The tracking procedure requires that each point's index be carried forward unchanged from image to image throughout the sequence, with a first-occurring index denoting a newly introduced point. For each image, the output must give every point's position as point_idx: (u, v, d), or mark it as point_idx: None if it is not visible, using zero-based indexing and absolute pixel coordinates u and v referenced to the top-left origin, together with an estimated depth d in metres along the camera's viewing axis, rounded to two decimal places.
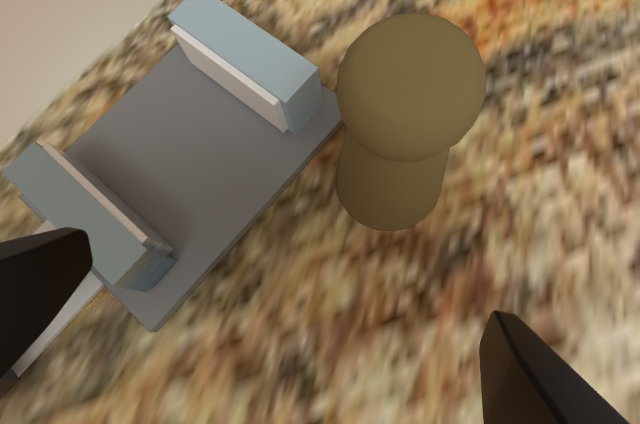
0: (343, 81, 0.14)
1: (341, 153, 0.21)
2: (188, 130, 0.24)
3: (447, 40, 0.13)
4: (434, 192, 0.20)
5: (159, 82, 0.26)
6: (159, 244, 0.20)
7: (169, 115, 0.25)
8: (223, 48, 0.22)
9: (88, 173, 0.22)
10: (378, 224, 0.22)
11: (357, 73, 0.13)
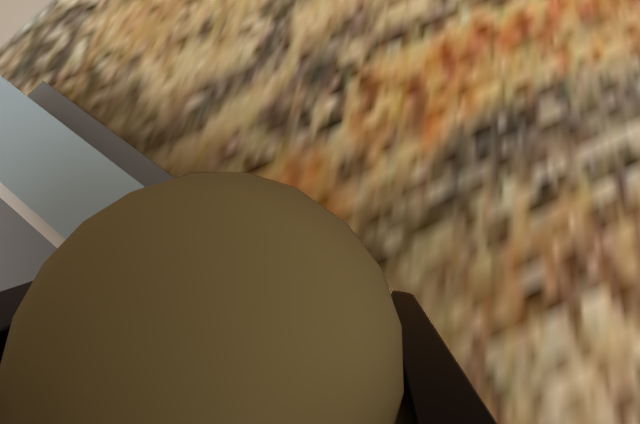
0: None
1: None
2: None
3: (270, 281, 0.04)
4: None
5: None
6: None
7: None
8: None
9: None
10: None
11: (9, 391, 0.04)
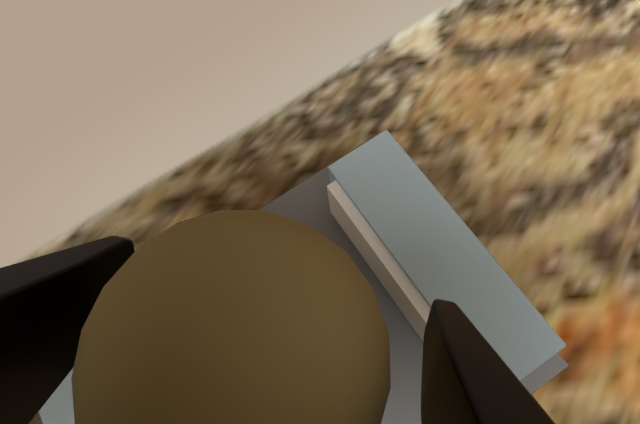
0: None
1: None
2: None
3: (284, 301, 0.06)
4: None
5: None
6: None
7: None
8: (406, 253, 0.13)
9: None
10: None
11: (84, 387, 0.06)
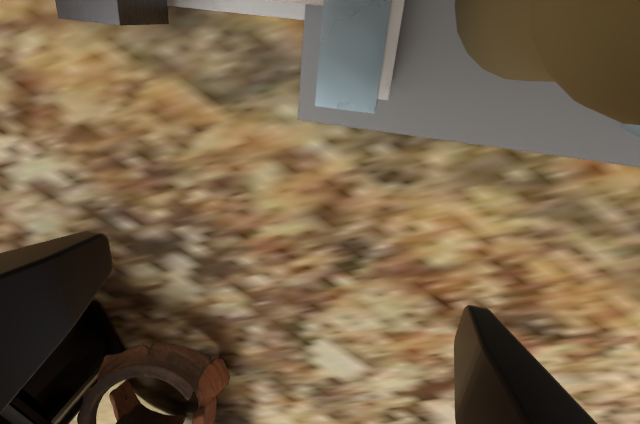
0: None
1: None
2: None
3: None
4: None
5: None
6: None
7: None
8: None
9: None
10: (473, 53, 0.15)
11: None
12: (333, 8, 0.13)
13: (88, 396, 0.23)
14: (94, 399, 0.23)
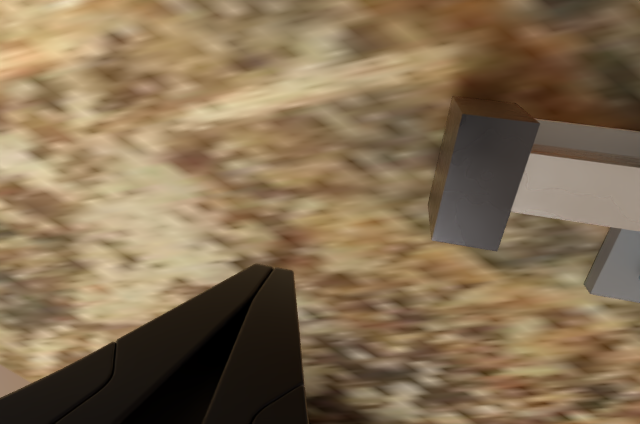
0: None
1: None
2: None
3: None
4: None
5: None
6: None
7: None
8: None
9: None
10: None
11: None
12: None
13: None
14: None
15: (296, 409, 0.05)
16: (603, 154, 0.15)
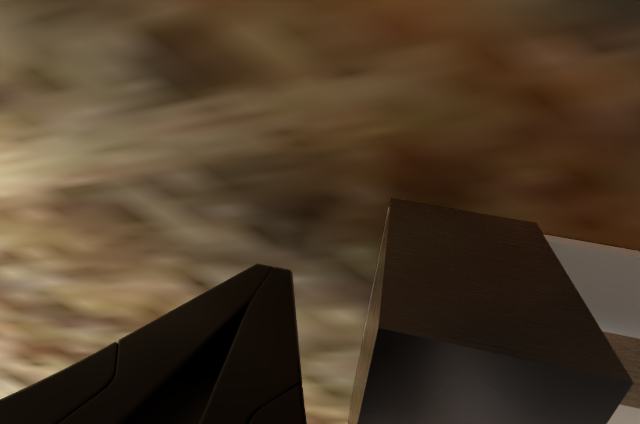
0: None
1: None
2: None
3: None
4: None
5: None
6: None
7: None
8: None
9: None
10: None
11: None
12: None
13: None
14: None
15: (294, 409, 0.05)
16: None
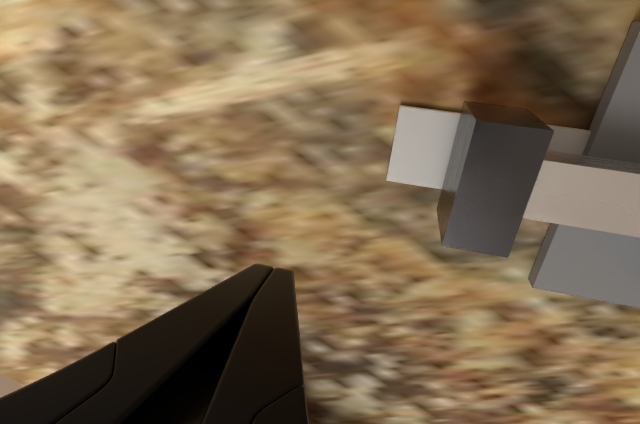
0: None
1: None
2: None
3: None
4: None
5: None
6: None
7: None
8: None
9: None
10: None
11: None
12: None
13: None
14: None
15: (296, 409, 0.05)
16: (615, 161, 0.15)
